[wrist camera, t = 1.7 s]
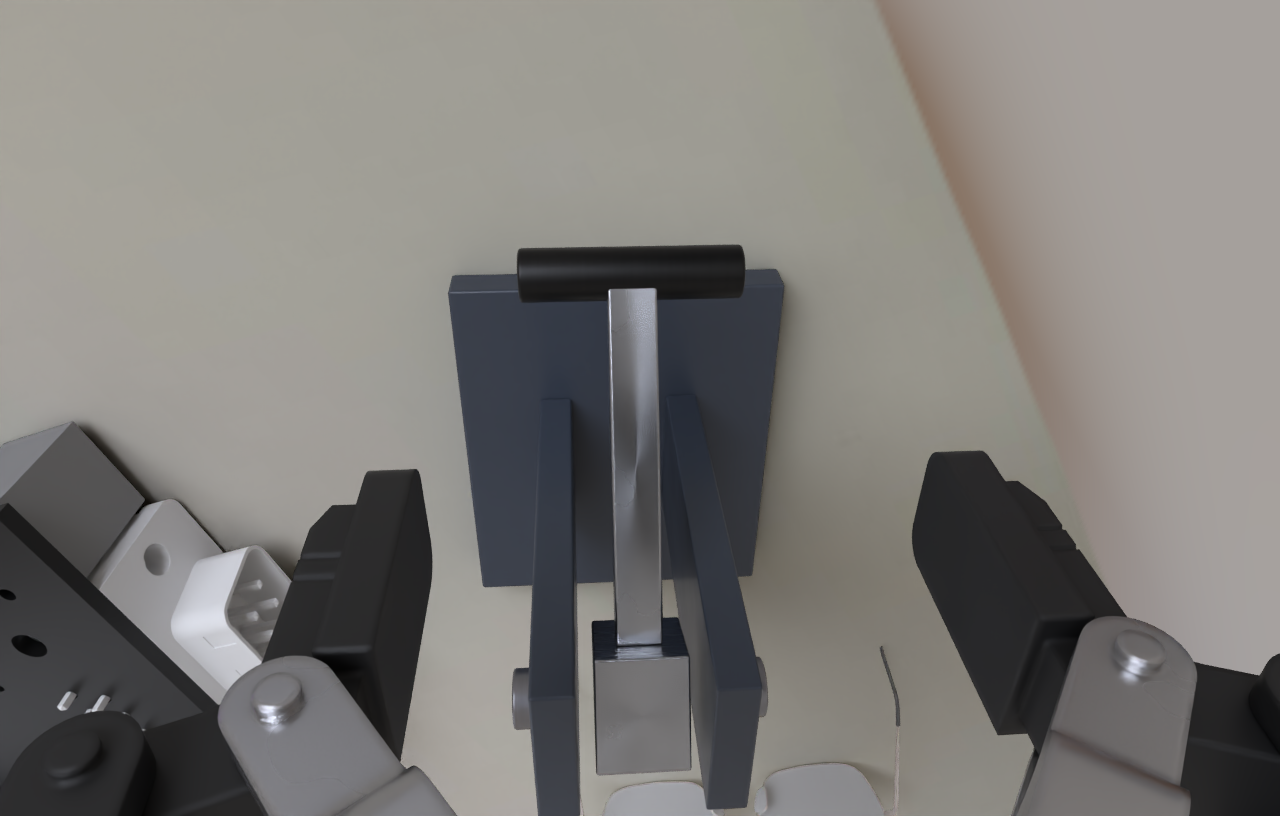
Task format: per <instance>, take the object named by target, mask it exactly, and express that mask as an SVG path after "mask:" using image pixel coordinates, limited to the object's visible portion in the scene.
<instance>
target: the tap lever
mask: <svg viewBox="0 0 1280 816" xmlns="http://www.w3.org/2000/svg"><path fill="white" fill-rule="evenodd" d="M517 281H518V294H519V299H520V301H521V302H522V303H538V302H585V301H606V303H607V343H608V383H609V424H610V464H611V505H612V545H613V586H614V620H605V621H592V654H593V688H594V723H595V750H596V773H597V775H615V774H633V773H651V772H668V771H686V770H691V691H690V656H689V652H688V649H687V645H686V642H685V639H684V635H683V632H682V628H681V625H680V622H679V619H678V618H677V617H672V618H663V612H662V551H661V489H660V428H659V366H658V304H657V300H678V299H724V298H740V297H741V296H742V294H743V291H744V286H745V257H744V252H743V249H742V247H741V246H740V245H685V246H628V247H571V248H521V249H519V250H518V253H517Z"/></svg>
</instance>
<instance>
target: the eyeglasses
mask: <svg viewBox="0 0 1280 816" xmlns="http://www.w3.org/2000/svg"><path fill="white" fill-rule="evenodd" d="M880 651H881V655H882V659H883V662H884V665H885V668H886V671H887V674H888V677H889V680H890V683H891V686H892V690H893V693H894V697H895V703H896V726H897V734H896V759H895V783H894V807H893V809H892V810H887V811H884V809H883V806H882V804H881V802H880V800H879V798H878V796H877V795H876V793H875V791H874V790H873V788H872V787H871V785H870V784H869V782H868V781H867V779H866V778H865V776H864V775H863V774H862V773H861V772H860V771H859V770H858V769H856V768H855V767H853V766H850V765H847V764H842V763H822V764H811V765H803V766H798V767H793V768H788V769H784V770H780V771H777V772H775V773H772V774H771V775H769V776H768V777H767V778H766V780H765V782H764V784H763V786H762V787H761V788H760V789H759V790H758V791H757V794H756V798H755V807H754V809H755V812H756V813H757V814H758V816H895V815H896V814H897V811H898V804H899V726H900V708H899V700H898V695H897V691H896V688H895V685H894V682H893V679H892V676H891V673H890V670H889V667H888V664H887V661H886V658H885V654H884V651H883V647H882V646H881V647H880ZM580 811H581V813H580V816H584V812H583V807H582V801H581V795H580ZM724 815H725V814H724V810H723V809H715V810H708V809H707V808H706V803H705V796H704V789H703V788H702V787H701V786H699V785H698V784H696V783H692V782H685V781H665V782H652V783H644V784H638V785H632V786H628V787H624V788H622V789H619V790H617V791H616V792H614V793H613V794H612V795H611V796H610V797H609V798H608V800H607V802H606V804H605V807H604V811H603V815H602V816H724Z"/></svg>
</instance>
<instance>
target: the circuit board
mask: <svg viewBox="0 0 1280 816" xmlns="http://www.w3.org/2000/svg"><path fill="white" fill-rule="evenodd" d="M144 501H145V499H144V498H143V497H142V496H141V494H140V493H139V492H138V491H137V490H136V489H135V488H134V487H133V486H132V485H131V484H130V482H129V481H128V480H127V479H126V478H125V477H124V476H123V475H122V474H121V473H120V472H119V471H118V469H117V468H116V467H115V466H114V465H113V464H112V463H111V462H110V461H109V460H108V459H107V457H106V456H105V455H104V454H103V453H102V452H101V451H100V450H99V449H98V448H97V447H96V445H95V444H94V443H93V442H92V441H91V440H90V439H89V438H88V437H87V436H86V435H85V434H84V432H83V431H82V430H81V429H80V428H79V427H78V426H77V425H76V424H75V423H74V422H69V423H66V424H63V425H60V426H57V427H54V428H51V429H48V430H45V431H41V432H38V433H35V434H32V435H29V436H26V437H23V438H20V439H17V440H14V441H10V442H7V443H4V444H3V445H2V446H1V447H0V789H1V787H2V785H3V783H4V781H5V779H6V777H7V775H8V773H9V771H10V770H11V768H12V766H13V764H14V763H15V761H16V759H17V758H18V757H19V756H20V754H21V753H22V752H23V751H24V749H25V748H26V747H27V746H28V745H30V744H31V743H32V742H33V741H34V740H35V739H36V738H37V737H39V736H40V735H41V734H43V733H44V732H45V731H47V730H49V729H50V728H52V727H53V726H55V725H57V724H59V723H61V722H63V721H65V720H67V719H70V718H72V717H75V716H77V715H81V714H85V713H88V712H94V711H106V710H110V711H118V712H122V713H125V714H127V715H129V716H131V717H133V718H134V719H135V720H136V721H137V722H138V723H139V725H140V727H141V729H142V731H145V730H148V729H151V728H155V727H158V726H161V725H164V724H168V723H171V722H174V721H177V720H180V719H184V718H187V717H190V716H193V715H196V714H199V713H202V712H205V711H207V710H209V709H211V708H213V707H216V706H218V705H219V704H221V701H222V699H223V697H224V695H225V694H226V692H227V691H228V689H229V688H230V687H231V686H232V684H233V683H234V682H235V681H236V680H237V679H239V678H240V677H241V676H242V675H244V674H245V673H246V672H247V671H249V670H251V669H252V668H254V667H256V666H258V665H260V664H261V663H262V660H263V658H264V655H265V652H266V650H267V647H268V644H269V641H270V638H271V636H272V633H273V630H274V627H275V625H276V622H277V619H278V616H279V613H280V611H281V608H282V605H283V602H284V599H285V597H286V594H287V591H288V588H289V586H290V583H291V582H292V581H291V580H290V579H289V578H288V576H287V575H286V574H285V573H284V572H283V571H282V569H281V568H280V567H279V566H278V565H277V564H276V562H275V561H274V560H273V559H272V558H271V557H270V555H269V554H268V553H267V552H266V551H265V550H264V549H263V548H262V547H260V546H257V545H254V546H249V547H246V548H242V549H238V550H234V551H230V552H226V553H223V551H222V550H221V549H220V548H219V547H218V546H217V545H216V544H215V542H214V541H213V540H212V539H211V538H210V537H209V536H208V535H207V533H206V532H205V531H204V530H203V529H202V528H201V527H200V526H199V525H198V523H197V522H196V521H195V520H194V519H193V518H192V517H191V516H190V514H189V513H188V512H187V511H186V510H185V509H184V508H183V507H182V505H181V504H180V503H179V502H177V501H176V500H173V499H167V500H163V501H160V502H156V503H153V504H149V505H146V506H145V507H143V508H142V510H141V511H140V512H139V514H137V515H134V514H135V513H136V511H137V510H138V509H139V507H140V506H141V505H142V503H143V502H144Z"/></svg>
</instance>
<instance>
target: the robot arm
mask: <svg viewBox="0 0 1280 816" xmlns="http://www.w3.org/2000/svg"><path fill="white" fill-rule="evenodd" d="M912 545H913V552H914V557H915V560H916V563H917V566H918V568H919V570H920V572H921V574H922V576H923V579H924V581H925V583H926V585H927V587H928V589H929V591H930V593H931V595H932V597H933V600H934V602H935V604H936V606H937V608H938V610H939V612H940V614H941V616H942V619H943V621H944V623H945V625H946V627H947V629H948V631H949V633H950V635H951V638H952V640H953V642H954V644H955V646H956V648H957V650H958V652H959V654H960V657H961V659H962V661H963V663H964V665H965V667H966V669H967V671H968V673H969V676H970V678H971V680H972V682H973V684H974V686H975V688H976V690H977V692H978V695H979V697H980V699H981V701H982V703H983V705H984V707H985V709H986V711H987V713H988V716H989V718H990V720H991V722H992V724H993V726H994V728H995V730H996V732H997V735H1010V734H1027V733H1028V735H1029V737H1030V739H1031V741H1032V743H1033V745H1034V750H1033V752H1032V755H1031V757H1030V759H1029V762H1028V765H1027V768H1026V771H1025V774H1024V778H1023V781H1022V784H1021V787H1020V790H1019V793H1018V796H1017V799H1016V802H1015V805H1014V808H1013V811H1012V814H1011V816H1280V654H1277V655H1276V656H1273V657H1272V658H1271V659H1270V660H1269V661H1268V663H1267V664H1266V666H1265V668H1264V669H1263V671H1262V673H1261V674H1260V676H1258V675H1254V674H1248V673H1244V672H1239V671H1234V670H1229V669H1224V668H1219V667H1214V666H1209V665H1204V664H1200V663H1196V662H1193V660H1192V658H1191V657H1190V655H1189V654H1188V652H1187V651H1186V650H1185V649H1184V648H1183V647H1182V645H1181V644H1179V643H1178V642H1177V641H1176V640H1175V639H1174V638H1172V637H1171V636H1170V635H1168V634H1167V633H1165V632H1164V631H1162V630H1160V629H1158V628H1156V627H1155V626H1152V625H1150V624H1148V623H1145V622H1142V621H1140V620H1136V619H1132V618H1128V617H1127V616H1126V615H1125V613H1124V612H1123V611H1122V609H1121V608H1120V606H1119V605H1118V604H1117V602H1116V601H1115V599H1114V598H1113V596H1112V595H1111V594H1110V592H1109V591H1108V589H1107V588H1106V587H1105V585H1104V584H1103V582H1102V581H1101V579H1100V578H1099V577H1098V575H1097V574H1096V572H1095V571H1094V570H1093V568H1092V567H1091V565H1090V564H1089V562H1088V561H1087V560H1086V558H1085V557H1084V555H1083V554H1082V553H1081V551H1080V550H1076V544H1075V543H1074V541H1073V540H1072V538H1071V537H1070V536H1069V534H1068V533H1067V531H1066V530H1062V524H1061V523H1060V521H1059V520H1058V519H1057V517H1056V516H1055V514H1054V513H1053V512H1052V510H1051V509H1050V507H1049V506H1048V504H1047V503H1046V502H1045V501H1044V500H1043V499H1041V498H1040V497H1039V496H1037V495H1036V494H1035V493H1033V492H1032V491H1031V490H1029V489H1028V488H1027V487H1025V486H1024V485H1023V484H1021V483H1020V482H1019V481H1005V480H1004V479H1003V477H1002V476H1001V474H1000V473H999V471H998V470H997V468H996V467H995V465H994V464H993V462H992V461H991V459H990V458H989V456H988V455H987V454H986V453H985V452H983V451H954V452H935V453H933V454H932V455H931V457H930V458H929V461H928V464H927V468H926V472H925V476H924V481H923V485H922V489H921V493H920V498H919V502H918V506H917V510H916V515H915V519H914V523H913V530H912ZM431 580H432V547H431V540H430V534H429V527H428V521H427V515H426V509H425V503H424V496H423V490H422V484H421V478H420V474H419V472H418V470H417V469H409V470H381V471H368V472H367V473H366V475H365V477H364V480H363V483H362V487H361V490H360V493H359V497H358V500H357V503H356V505H332V506H331V507H330V508H329V509H328V510H327V511H326V512H325V514H324V515H323V516H322V517H321V518H320V519H319V520H318V521H317V522H316V523H315V524H314V525H313V526H312V527H311V528H310V530H309V533H308V535H307V538H306V541H305V544H304V547H303V549H302V552H301V560H298V563H297V566H296V569H295V572H294V574H293V582H291V583H290V586H289V588H288V591H287V594H286V597H285V599H284V602H283V605H282V608H281V611H280V613H279V616H278V619H277V622H276V625H275V627H274V630H273V633H272V636H271V638H270V641H269V644H268V647H267V650H266V652H265V655H264V658H263V660H262V663H261V664H260V665H258V666H256V667H254V668H252V669H251V670H249V671H247V672H246V673H245V674H244V675H242V676H241V677H240V678H239V679H237V680H236V681H235V682H234V683H233V684H232V686H231V687H230V688H229V689H228V691H227V692H226V694H225V695H224V697H223V699H222V701H221V704H219V705H218V706H216V707H213V708H211V709H209V710H207V711H205V712H202V713H199V714H196V715H193V716H190V717H187V718H184V719H180V720H177V721H174V722H171V723H168V724H164V725H161V726H158V727H155V728H151V729H148V730H145V731H142V729H141V727H140V725H139V723H138V722H137V721H136V720H135V719H134V718H133V717H131V716H129V715H127V714H125V713H122V712H118V711H110V710H106V711H94V712H88V713H85V714H81V715H77V716H75V717H72V718H70V719H67V720H65V721H63V722H61V723H59V724H57V725H55V726H53V727H52V728H50V729H49V730H47V731H45V732H44V733H43V734H41V735H40V736H39V737H37V738H36V739H35V740H34V741H33V742H32V743H31V744H30V745H28V746H27V747H26V748H25V749H24V751H23V752H22V753H21V754H20V756H19V757H18V758H17V759H16V761H15V763H14V764H13V766H12V768H11V770H10V771H9V773H8V775H7V777H6V779H5V781H4V783H3V785H2V787H1V789H0V816H457V815H456V814H455V812H454V811H453V810H452V808H451V807H450V806H449V804H448V803H447V802H446V800H445V799H444V798H443V796H442V795H441V794H440V792H439V791H438V790H437V788H436V787H435V786H434V784H433V783H432V782H431V780H430V779H429V778H428V777H427V776H426V774H425V773H424V772H423V771H422V770H421V769H419V768H418V767H416V766H411V767H410V768H408V769H406V768H405V767H404V766H403V765H402V764H401V763H400V760H401V754H402V748H403V743H404V737H405V731H406V726H407V720H408V714H409V708H410V703H411V697H412V691H413V685H414V680H415V674H416V668H417V662H418V657H419V651H420V645H421V639H422V634H423V628H424V622H425V616H426V611H427V605H428V599H429V593H430V588H431Z"/></svg>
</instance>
